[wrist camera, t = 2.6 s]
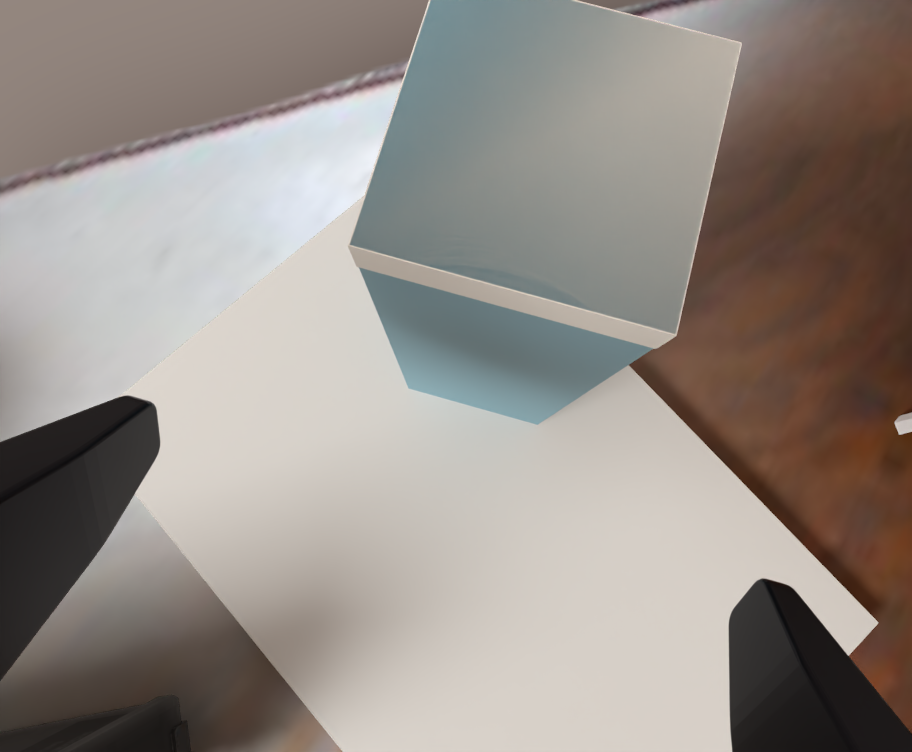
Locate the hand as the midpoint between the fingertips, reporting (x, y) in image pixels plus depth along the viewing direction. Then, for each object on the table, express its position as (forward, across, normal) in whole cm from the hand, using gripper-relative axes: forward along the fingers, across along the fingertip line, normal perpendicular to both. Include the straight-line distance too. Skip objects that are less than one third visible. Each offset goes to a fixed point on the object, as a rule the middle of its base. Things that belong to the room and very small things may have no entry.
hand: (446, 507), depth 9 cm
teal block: (+12, 0, +4) cm, 12 cm away
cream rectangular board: (+8, -1, +9) cm, 12 cm away
